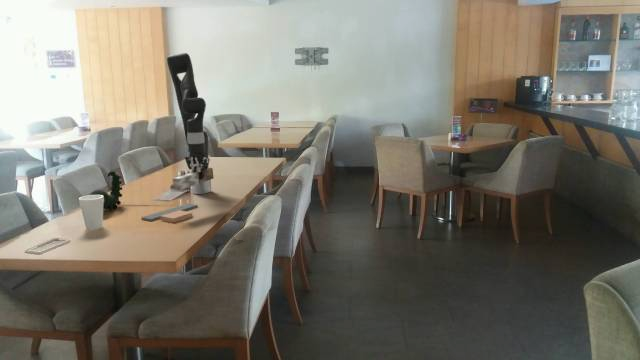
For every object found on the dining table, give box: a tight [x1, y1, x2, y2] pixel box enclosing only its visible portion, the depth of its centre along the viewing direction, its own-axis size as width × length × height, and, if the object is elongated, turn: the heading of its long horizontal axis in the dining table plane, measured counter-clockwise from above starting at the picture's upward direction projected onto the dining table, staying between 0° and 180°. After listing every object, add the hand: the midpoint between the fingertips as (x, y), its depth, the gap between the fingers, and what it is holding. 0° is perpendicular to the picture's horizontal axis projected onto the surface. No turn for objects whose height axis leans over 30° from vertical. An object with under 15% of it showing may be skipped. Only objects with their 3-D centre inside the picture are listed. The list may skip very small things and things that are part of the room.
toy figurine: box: [89, 170, 123, 211], centre depth 240 cm, size 9×19×25 cm
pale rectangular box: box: [172, 167, 215, 191], centre depth 234 cm, size 22×3×5 cm, turn 149°
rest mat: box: [141, 203, 199, 222], centre depth 236 cm, size 28×6×1 cm, turn 148°
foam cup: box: [78, 194, 104, 231], centre depth 213 cm, size 10×9×13 cm
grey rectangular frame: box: [24, 237, 71, 255], centre depth 191 cm, size 7×1×15 cm
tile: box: [160, 210, 193, 223], centre depth 226 cm, size 2×8×11 cm
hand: (198, 178), depth 237 cm, fingers closed on pale rectangular box, 3 cm apart
